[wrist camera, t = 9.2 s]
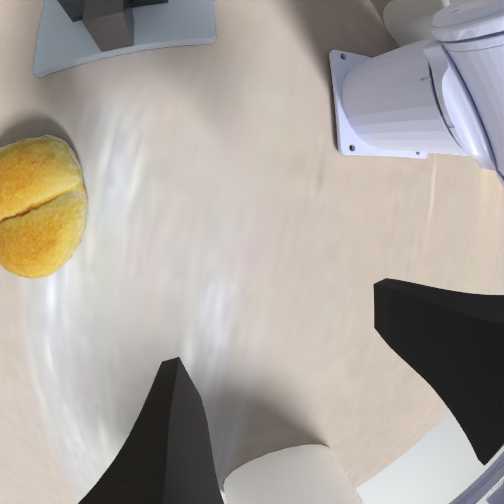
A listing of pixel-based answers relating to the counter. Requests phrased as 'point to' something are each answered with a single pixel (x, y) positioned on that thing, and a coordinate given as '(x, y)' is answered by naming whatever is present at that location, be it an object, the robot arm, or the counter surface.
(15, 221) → the bread roll
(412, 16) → the lumpy-topped squat cylinder
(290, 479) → the canister
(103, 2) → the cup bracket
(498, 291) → the counter surface
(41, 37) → the mounting board
